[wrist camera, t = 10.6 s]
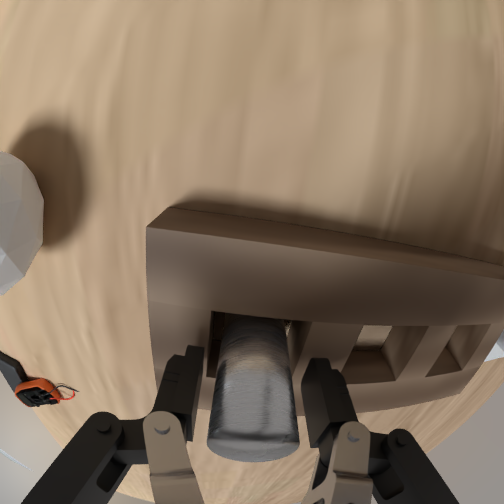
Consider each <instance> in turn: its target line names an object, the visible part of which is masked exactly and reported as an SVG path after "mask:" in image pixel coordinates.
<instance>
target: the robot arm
mask: <svg viewBox="0 0 504 504" xmlns="http://www.w3.org/2000/svg"><path fill="white" fill-rule="evenodd" d="M203 363H204V347H199V346H193V345H187V349H186V352H185V356H182V355H176V354H174V355H173V356H172V357H171V358H170V359H169V360H168V361H167V364H166V367H165V370H164V373H163V377H162V380H161V383H160V387H159V390H158V393H157V397H156V400H155V404H154V407H153V409H152V411H151V412H150V413H149V414H148V415H147V416H145V417H144V418H141V419H136V420H119V419H118V418H117V417H116V416H115V415H113V414H111V413H109V412H97V413H95V414H93V415H91V416H90V417H89V418H88V420H87V421H86V422H85V423H84V425H83V426H82V427H81V428H80V429H79V431H78V432H77V433H76V434H75V436H74V437H73V438H72V439H71V441H70V442H69V443H68V444H67V445H66V447H65V448H64V449H63V451H62V452H61V453H60V454H59V456H58V457H57V458H56V459H55V460H54V462H53V463H52V464H51V466H50V467H49V468H48V469H47V471H46V472H45V473H44V474H43V476H42V477H41V478H40V480H39V481H38V482H37V483H36V485H35V486H34V487H33V489H32V490H31V491H30V492H29V494H28V495H27V496H26V498H25V499H24V500H23V502H22V503H21V504H107V503H108V502H109V500H110V499H111V497H112V495H113V494H114V492H115V491H116V489H117V488H118V486H119V485H120V483H121V482H122V480H123V478H124V477H125V475H126V474H127V472H128V471H129V469H130V467H131V466H132V464H149V469H150V482H151V487H152V492H153V496H154V500H155V504H204V501H203V498H202V495H201V492H200V489H199V486H198V483H197V479H196V476H195V474H194V472H193V469H192V466H191V463H190V459H189V456H188V452H187V448H186V443H187V441H191V442H193V435H194V428H195V421H196V415H197V408H198V402H199V396H200V390H201V384H202V376H203ZM301 394H302V400H303V406H304V411H305V417H306V423H307V429H308V435H309V442H310V448H319V454H318V456H317V458H316V462H315V466H314V470H313V474H312V478H311V481H310V485H309V489H308V491H307V493H306V495H305V497H304V498H303V500H302V502H301V504H371V498H372V494H373V496H374V498H375V500H376V501H377V503H378V504H459V502H458V501H457V500H456V498H455V497H454V495H453V494H452V492H451V491H450V489H449V488H448V486H447V485H446V484H445V482H444V480H443V479H442V477H441V476H440V475H439V473H438V472H437V470H436V469H435V467H434V466H433V464H432V463H431V462H430V460H429V459H428V457H427V456H426V454H425V453H424V451H423V450H422V449H421V447H420V446H419V444H418V443H417V442H416V440H415V439H414V437H413V436H412V435H411V433H410V432H408V431H407V430H405V429H395V430H393V431H391V432H390V433H389V434H381V433H374V432H370V431H369V430H368V428H367V427H366V426H365V425H363V424H362V423H359V421H358V419H357V416H356V412H355V409H354V406H353V403H352V400H351V397H350V395H349V391H348V388H347V384H346V381H345V379H344V376H343V375H342V374H341V373H340V372H339V370H338V369H332V368H331V365H330V361H329V359H328V358H311V359H310V361H309V363H308V366H307V368H306V371H305V373H304V375H303V378H302V381H301Z"/></svg>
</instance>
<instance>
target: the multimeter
mask: <svg viewBox="0 0 504 504" xmlns="http://www.w3.org/2000/svg"><path fill="white" fill-rule="evenodd" d="M0 371H1V372H2V374H3V375H4V377H5V379H6V380H7V382H8V384H9V385H10V387H11V388H12V390H13V392H14V393H15V396H16V397H17V398H18V399H19V400H20V401H21V402H22V403H23V404H25V405H26V406H28V407H34V406H37V407H39V406H40V405H44V404H51V405H52V404H59V403H60V399H61V400H69V399H72V398H73V397H74V391H77V390H74V389H72V388H69V387H66V386H63V385H60V386H57V387H55V388H54V387H53V386H52V385H51V384H50V383H49V382H48V381H47V380H46V379H43V378H41V379H37V380H33V381H29V380H28V378H27V376H26V374H25V372H24V370H23V368H22V367H21V365H20V363H19V362H18V361H17V360H15V359H13V358H11V357H9V356H7V355H5V354H4V353H2V352H0ZM58 387H66V388H68V389H71V390H74V391H73V396H72V397H71V398H67V399H63V398H60V395H59V393H58V392H57V391H56V388H58ZM77 392H79V391H77Z"/></svg>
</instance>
